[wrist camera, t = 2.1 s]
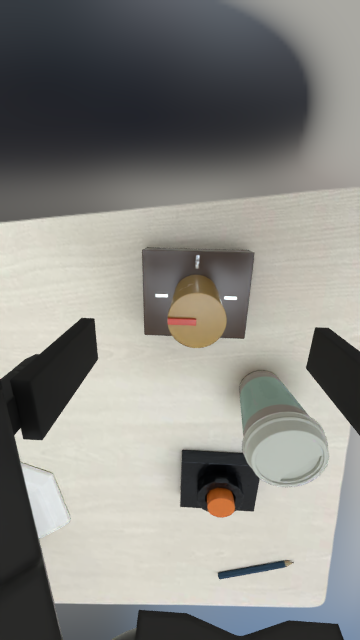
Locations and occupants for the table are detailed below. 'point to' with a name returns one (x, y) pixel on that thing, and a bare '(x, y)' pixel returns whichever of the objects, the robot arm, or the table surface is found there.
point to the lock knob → (196, 312)
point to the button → (220, 502)
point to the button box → (217, 478)
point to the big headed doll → (45, 500)
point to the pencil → (254, 569)
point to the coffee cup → (279, 433)
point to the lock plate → (177, 263)
